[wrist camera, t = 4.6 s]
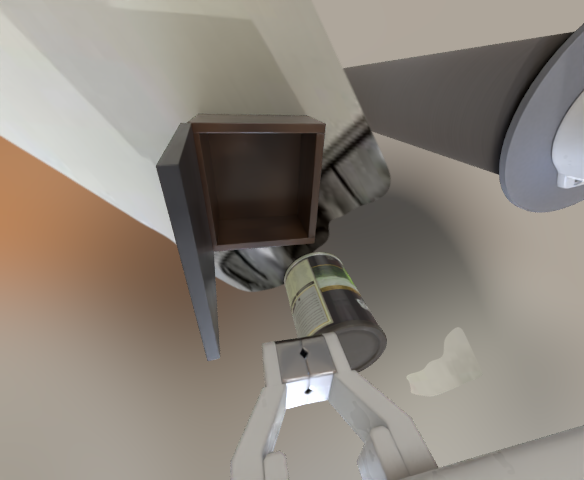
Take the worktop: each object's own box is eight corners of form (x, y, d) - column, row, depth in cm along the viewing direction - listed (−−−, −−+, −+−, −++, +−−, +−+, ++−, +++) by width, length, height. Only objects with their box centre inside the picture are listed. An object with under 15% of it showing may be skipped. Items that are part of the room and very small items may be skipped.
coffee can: (336, 241, 37) (382, 313, 26) (348, 286, 43) (390, 361, 31) (273, 266, 37) (291, 348, 26) (294, 307, 43) (316, 389, 32)
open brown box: (307, 115, 27) (326, 123, 21) (301, 217, 34) (314, 243, 28) (197, 113, 25) (186, 122, 19) (214, 222, 32) (210, 252, 26)
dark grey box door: (178, 164, 9) (155, 165, 9) (220, 358, 16) (207, 361, 16) (191, 123, 19) (180, 123, 19) (213, 253, 26) (205, 255, 26)
